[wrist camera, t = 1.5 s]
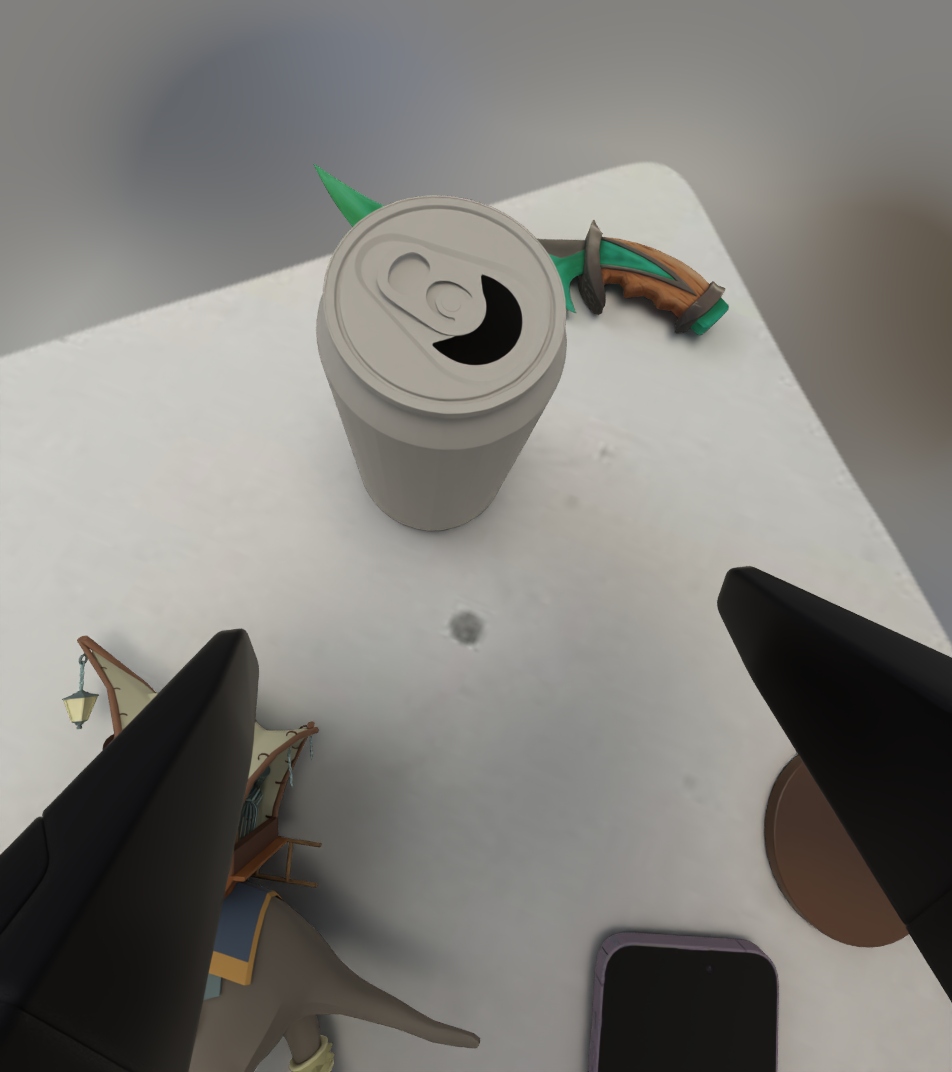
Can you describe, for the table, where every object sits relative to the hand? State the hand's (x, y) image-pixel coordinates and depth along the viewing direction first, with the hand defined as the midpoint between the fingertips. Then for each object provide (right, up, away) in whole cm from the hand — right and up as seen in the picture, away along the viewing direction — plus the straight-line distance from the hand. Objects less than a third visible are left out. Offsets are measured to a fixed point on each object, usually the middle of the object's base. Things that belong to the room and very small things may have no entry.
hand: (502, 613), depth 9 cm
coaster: (+16, -12, +13) cm, 24 cm away
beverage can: (-3, +5, +14) cm, 15 cm away
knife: (+1, +13, +15) cm, 20 cm away
